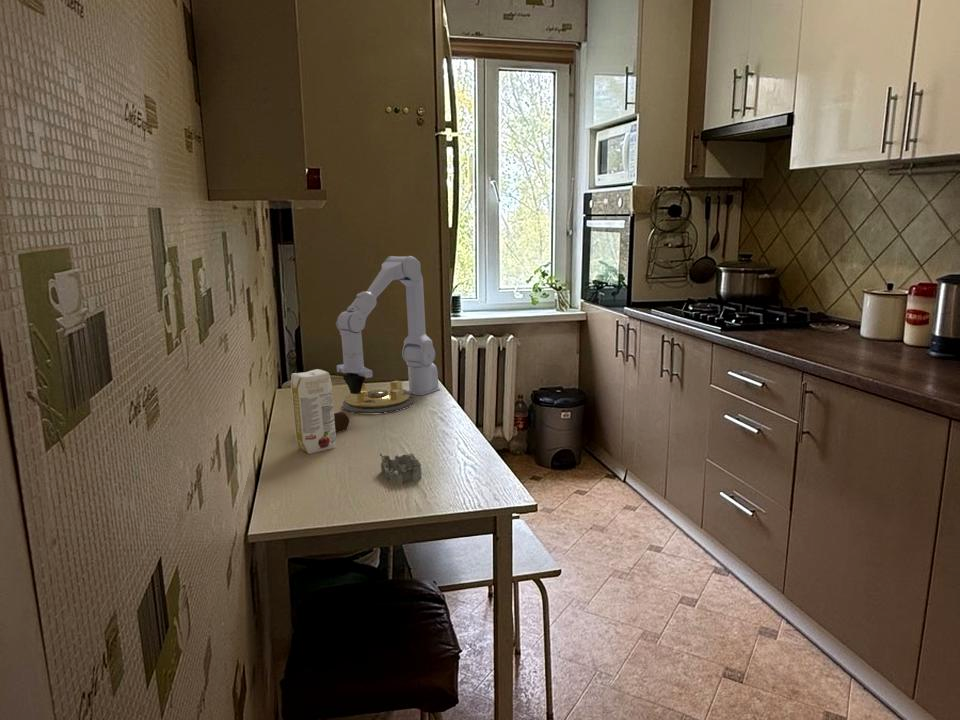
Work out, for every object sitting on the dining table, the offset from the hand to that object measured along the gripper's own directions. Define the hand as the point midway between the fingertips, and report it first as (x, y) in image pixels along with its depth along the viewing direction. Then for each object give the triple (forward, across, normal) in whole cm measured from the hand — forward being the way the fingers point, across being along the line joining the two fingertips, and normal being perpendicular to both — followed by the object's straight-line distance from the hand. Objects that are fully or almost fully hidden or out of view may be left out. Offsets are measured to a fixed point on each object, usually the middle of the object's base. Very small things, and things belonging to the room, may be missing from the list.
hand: (356, 398), depth 196 cm
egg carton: (+4, +50, -26) cm, 56 cm away
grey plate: (+4, 0, +8) cm, 9 cm away
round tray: (+2, 0, +8) cm, 8 cm away
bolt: (+4, +6, -14) cm, 16 cm away
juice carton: (+4, +20, -27) cm, 34 cm away
